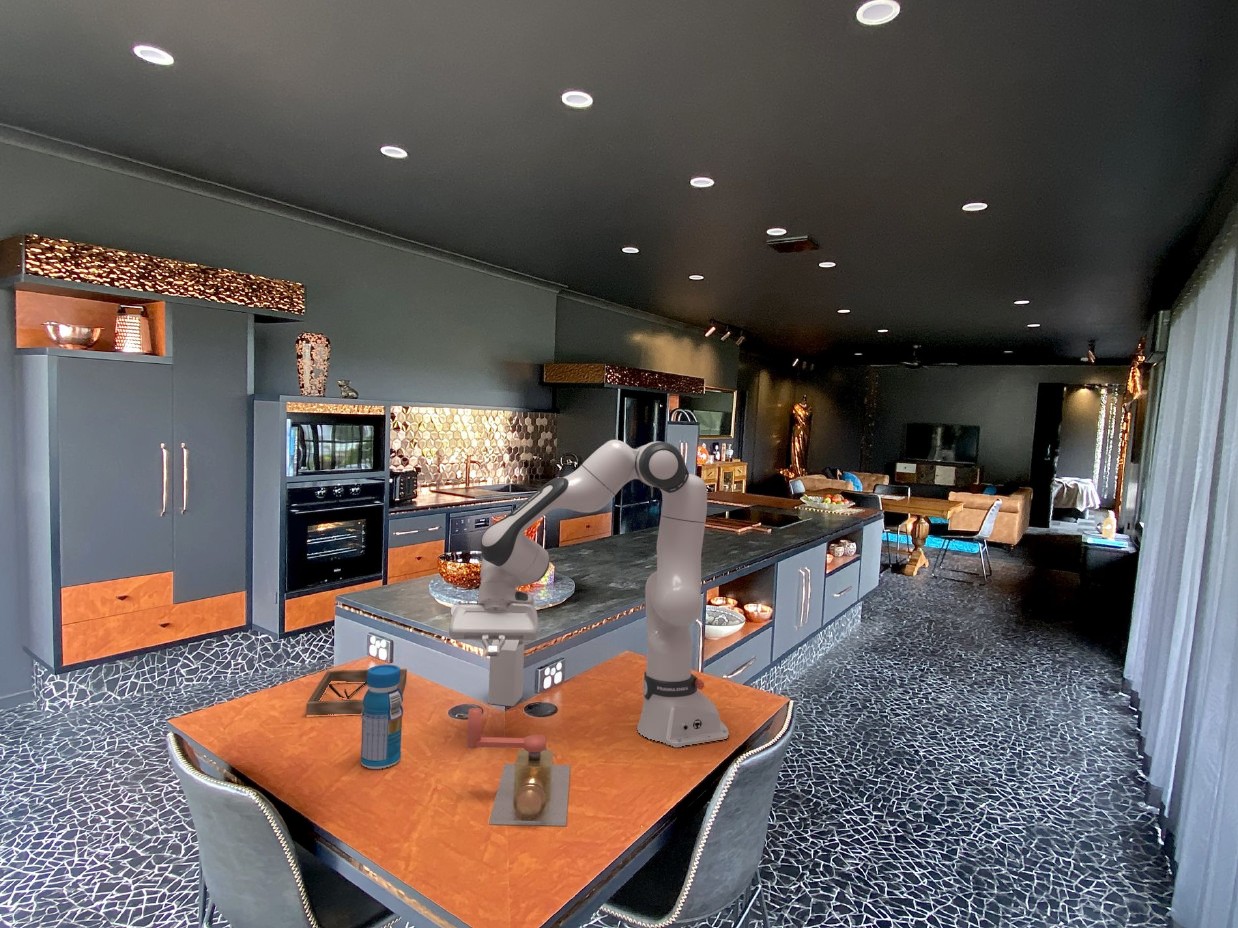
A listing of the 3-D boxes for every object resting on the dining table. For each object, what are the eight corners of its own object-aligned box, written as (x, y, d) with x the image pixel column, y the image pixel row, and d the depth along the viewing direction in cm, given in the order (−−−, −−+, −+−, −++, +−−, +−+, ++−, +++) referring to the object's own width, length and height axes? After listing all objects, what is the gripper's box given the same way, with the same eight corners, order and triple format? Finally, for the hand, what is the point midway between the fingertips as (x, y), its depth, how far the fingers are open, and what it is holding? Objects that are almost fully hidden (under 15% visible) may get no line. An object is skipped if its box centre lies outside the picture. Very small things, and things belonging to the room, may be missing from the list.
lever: (546, 742, 136) (548, 707, 136) (545, 752, 132) (546, 716, 132) (469, 740, 136) (470, 705, 136) (465, 750, 131) (466, 714, 131)
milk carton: (513, 707, 178) (516, 635, 178) (488, 703, 180) (490, 633, 179) (522, 697, 185) (525, 628, 185) (498, 694, 187) (500, 626, 186)
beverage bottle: (360, 773, 140) (364, 677, 139) (358, 755, 147) (361, 664, 147) (403, 767, 143) (406, 673, 143) (399, 750, 151) (402, 661, 150)
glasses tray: (406, 680, 194) (406, 668, 194) (397, 713, 171) (397, 700, 171) (326, 682, 190) (327, 670, 190) (306, 717, 166) (306, 703, 166)
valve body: (504, 767, 145) (506, 725, 145) (570, 768, 146) (571, 726, 145) (489, 824, 123) (490, 774, 123) (566, 825, 124) (568, 776, 123)
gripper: (451, 593, 157) (444, 648, 148) (539, 595, 160) (538, 648, 151) (452, 608, 162) (445, 661, 152) (538, 609, 165) (537, 662, 155)
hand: (492, 655), depth 151 cm, fingers closed
